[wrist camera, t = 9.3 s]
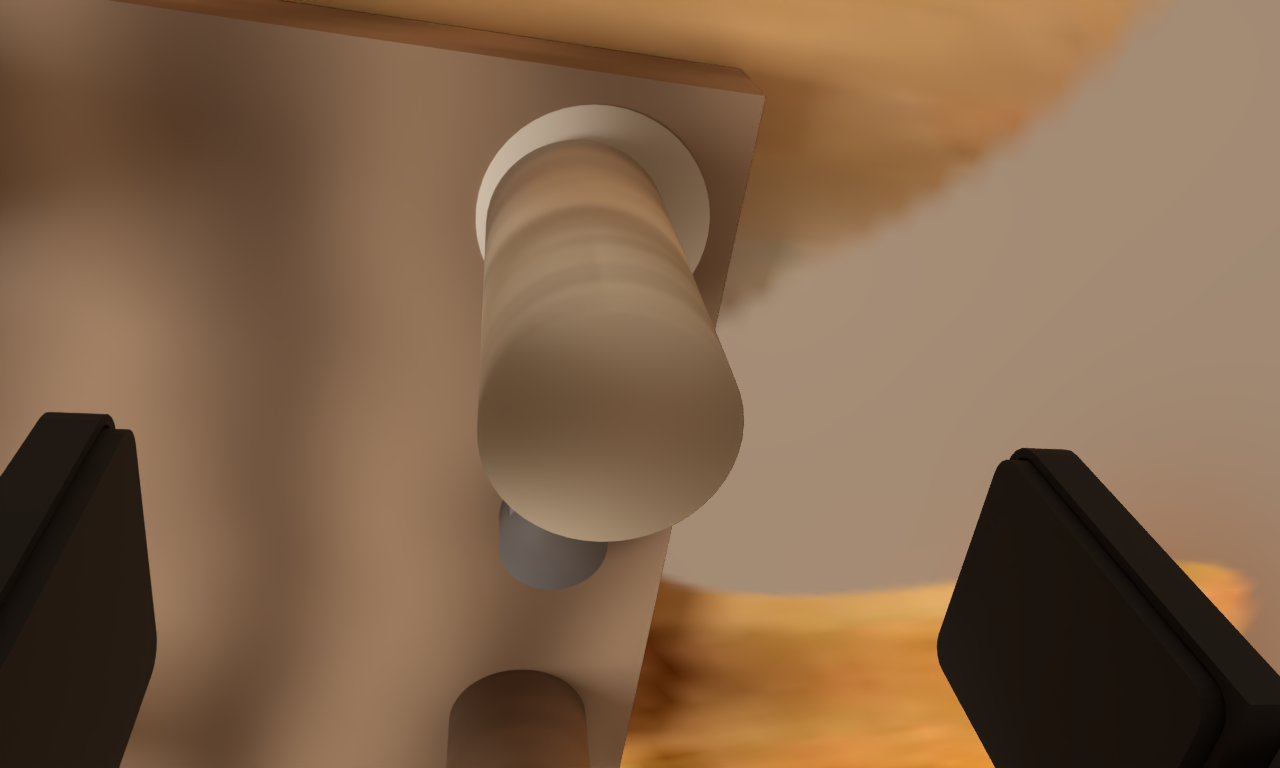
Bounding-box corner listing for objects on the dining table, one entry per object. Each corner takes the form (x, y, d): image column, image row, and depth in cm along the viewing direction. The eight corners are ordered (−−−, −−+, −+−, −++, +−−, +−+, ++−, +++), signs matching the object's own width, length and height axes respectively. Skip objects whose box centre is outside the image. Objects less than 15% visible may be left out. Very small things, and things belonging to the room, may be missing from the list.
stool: (-125, 709, 29) (-420, 1133, 19) (-301, -87, 20) (-1010, 3, 10) (604, 734, 32) (644, 1103, 23) (740, 69, 23) (897, 239, 14)
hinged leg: (623, 558, 25) (668, 844, 18) (471, 555, 25) (458, 848, 18) (676, 146, 21) (763, 319, 14) (490, 132, 20) (482, 304, 13)
